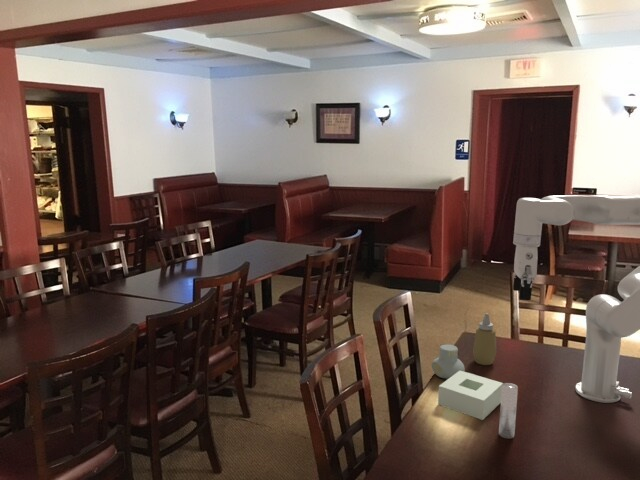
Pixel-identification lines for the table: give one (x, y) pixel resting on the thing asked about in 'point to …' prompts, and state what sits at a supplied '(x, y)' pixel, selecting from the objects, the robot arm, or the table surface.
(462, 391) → the socket block
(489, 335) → the squeeze bottle
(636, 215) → the robot arm
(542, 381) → the table surface
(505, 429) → the steel peg
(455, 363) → the air freshener
